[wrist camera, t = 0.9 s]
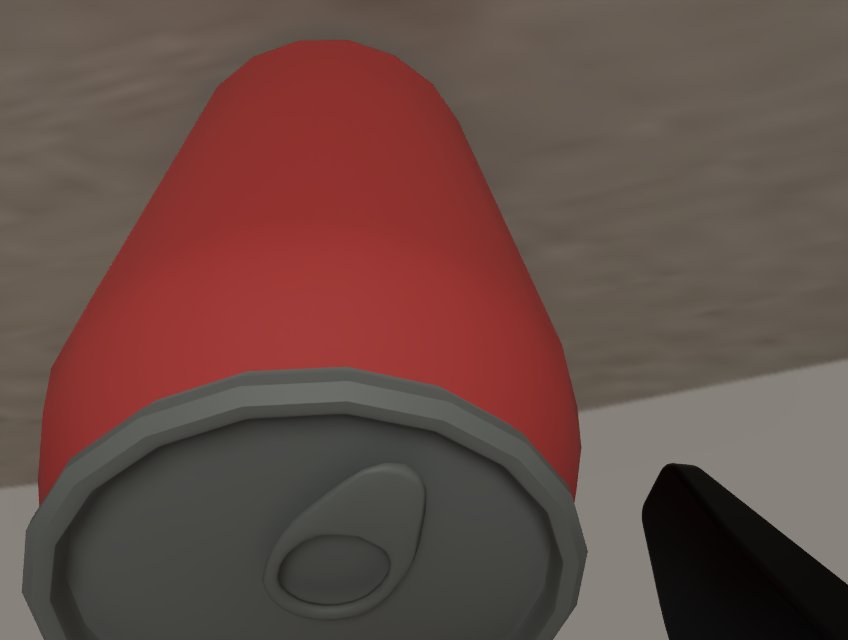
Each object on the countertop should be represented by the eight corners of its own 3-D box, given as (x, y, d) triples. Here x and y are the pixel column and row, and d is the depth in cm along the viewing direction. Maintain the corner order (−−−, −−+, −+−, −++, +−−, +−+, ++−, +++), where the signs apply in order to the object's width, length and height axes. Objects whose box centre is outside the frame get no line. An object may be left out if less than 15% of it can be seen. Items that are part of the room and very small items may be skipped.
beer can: (516, 114, 17) (778, 478, 7) (393, 326, 20) (446, 803, 10) (251, -25, 15) (44, 199, 5) (157, 235, 17) (-97, 726, 7)
